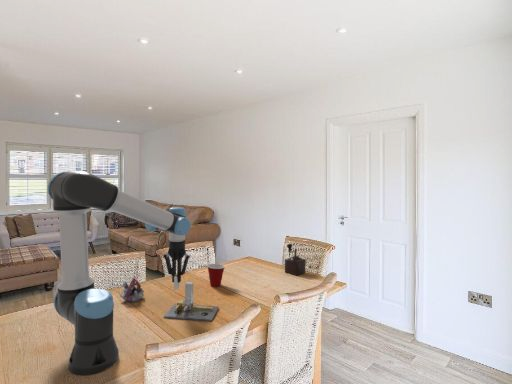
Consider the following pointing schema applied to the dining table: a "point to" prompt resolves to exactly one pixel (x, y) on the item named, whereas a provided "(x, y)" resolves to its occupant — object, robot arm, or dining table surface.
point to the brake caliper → (132, 291)
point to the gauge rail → (181, 306)
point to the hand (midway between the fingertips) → (176, 288)
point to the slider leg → (188, 296)
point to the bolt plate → (192, 314)
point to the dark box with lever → (294, 264)
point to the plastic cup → (215, 274)
